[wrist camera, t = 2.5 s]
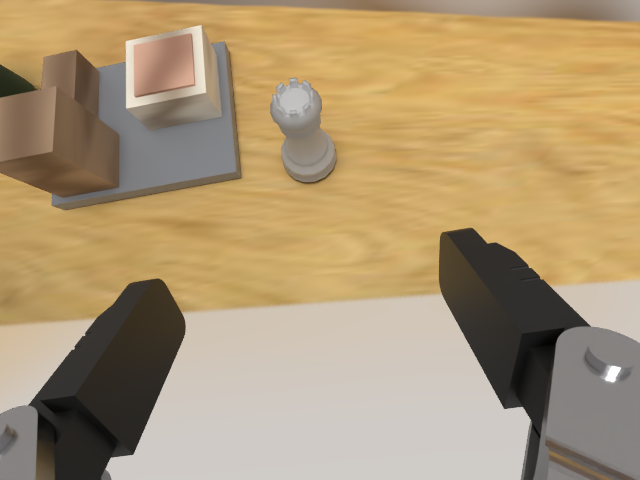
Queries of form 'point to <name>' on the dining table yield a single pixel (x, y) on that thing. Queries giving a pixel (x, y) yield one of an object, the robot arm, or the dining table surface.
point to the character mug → (12, 83)
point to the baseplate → (164, 143)
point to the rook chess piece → (302, 132)
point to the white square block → (172, 78)
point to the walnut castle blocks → (60, 132)
